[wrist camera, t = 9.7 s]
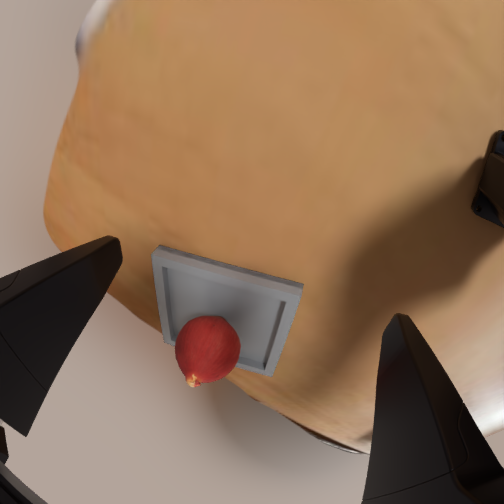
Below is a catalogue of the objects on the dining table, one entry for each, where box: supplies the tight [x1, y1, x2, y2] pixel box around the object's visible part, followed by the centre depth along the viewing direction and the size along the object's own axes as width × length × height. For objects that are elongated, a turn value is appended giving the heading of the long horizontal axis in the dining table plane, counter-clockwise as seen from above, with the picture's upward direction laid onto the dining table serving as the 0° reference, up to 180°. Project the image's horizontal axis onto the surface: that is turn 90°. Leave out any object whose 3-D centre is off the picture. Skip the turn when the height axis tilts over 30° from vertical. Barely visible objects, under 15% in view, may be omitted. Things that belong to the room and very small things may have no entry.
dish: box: [151, 245, 304, 377], centre depth 27 cm, size 13×13×2 cm
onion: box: [175, 316, 241, 387], centre depth 24 cm, size 6×6×8 cm
